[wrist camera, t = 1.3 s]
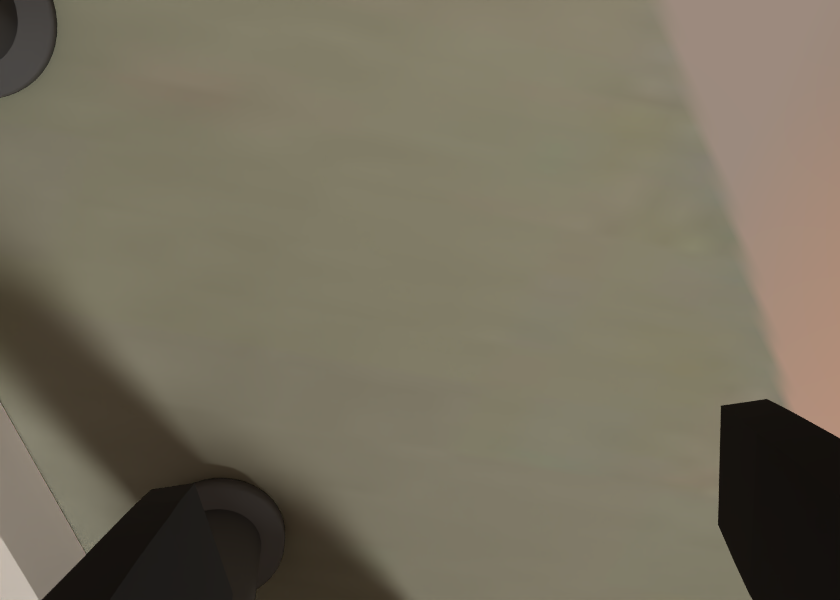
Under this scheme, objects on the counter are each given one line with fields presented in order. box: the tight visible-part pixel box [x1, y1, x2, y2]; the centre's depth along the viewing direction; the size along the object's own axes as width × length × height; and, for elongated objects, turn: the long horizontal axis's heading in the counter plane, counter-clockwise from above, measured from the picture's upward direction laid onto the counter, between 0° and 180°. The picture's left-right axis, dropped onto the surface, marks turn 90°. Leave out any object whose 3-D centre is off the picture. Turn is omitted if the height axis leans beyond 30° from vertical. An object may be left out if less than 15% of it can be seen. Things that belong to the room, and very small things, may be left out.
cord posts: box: [0, 0, 285, 600], centre depth 16 cm, size 4×20×9 cm, turn 17°
